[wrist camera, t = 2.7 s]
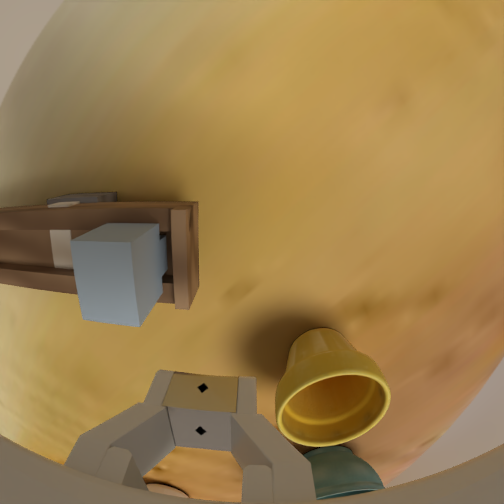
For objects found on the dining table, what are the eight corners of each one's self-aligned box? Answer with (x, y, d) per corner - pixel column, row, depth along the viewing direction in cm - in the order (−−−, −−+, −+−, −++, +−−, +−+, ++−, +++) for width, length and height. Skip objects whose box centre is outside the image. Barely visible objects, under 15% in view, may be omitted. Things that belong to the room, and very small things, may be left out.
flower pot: (342, 482, 41) (352, 527, 30) (260, 479, 39) (261, 530, 29) (389, 432, 36) (410, 483, 26) (295, 427, 35) (304, 491, 25)
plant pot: (282, 394, 33) (288, 457, 24) (260, 326, 30) (263, 390, 21) (364, 372, 32) (390, 429, 23) (356, 301, 30) (392, 354, 20)
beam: (15, 198, 26) (-34, 211, 18) (206, 190, 26) (185, 202, 18) (22, 262, 29) (-21, 287, 21) (206, 274, 29) (189, 315, 21)
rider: (116, 218, 21) (69, 240, 14) (165, 219, 21) (130, 242, 14) (122, 280, 22) (83, 319, 16) (168, 283, 22) (140, 327, 16)
